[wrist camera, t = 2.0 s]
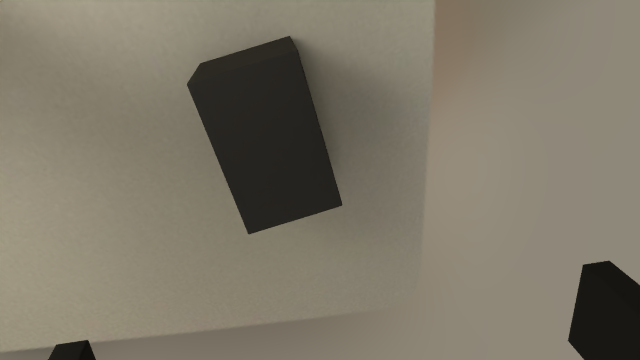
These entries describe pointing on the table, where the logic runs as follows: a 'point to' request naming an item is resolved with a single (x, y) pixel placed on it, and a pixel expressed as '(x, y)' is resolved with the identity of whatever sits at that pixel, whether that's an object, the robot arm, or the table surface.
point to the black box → (266, 134)
